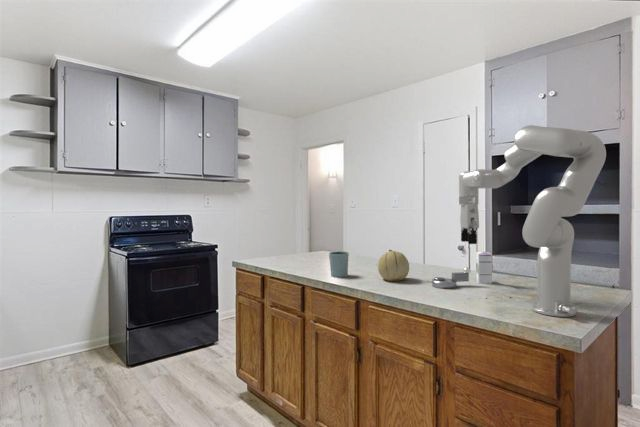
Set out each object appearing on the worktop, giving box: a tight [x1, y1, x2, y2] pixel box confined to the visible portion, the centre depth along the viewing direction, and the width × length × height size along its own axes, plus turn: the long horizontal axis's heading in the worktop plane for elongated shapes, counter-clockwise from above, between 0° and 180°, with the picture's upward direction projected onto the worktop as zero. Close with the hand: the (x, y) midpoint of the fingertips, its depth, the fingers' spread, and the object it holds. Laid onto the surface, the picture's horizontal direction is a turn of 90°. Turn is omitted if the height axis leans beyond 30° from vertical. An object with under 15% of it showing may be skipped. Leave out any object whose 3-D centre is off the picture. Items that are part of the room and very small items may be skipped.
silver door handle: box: [431, 266, 471, 290], centre depth 162 cm, size 17×10×8 cm, turn 96°
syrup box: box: [475, 251, 493, 285], centre depth 169 cm, size 6×6×14 cm
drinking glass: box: [328, 251, 349, 278], centre depth 193 cm, size 10×10×12 cm
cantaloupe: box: [377, 249, 410, 282], centre depth 177 cm, size 15×15×15 cm
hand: (468, 242), depth 156 cm, fingers open, 9 cm apart
